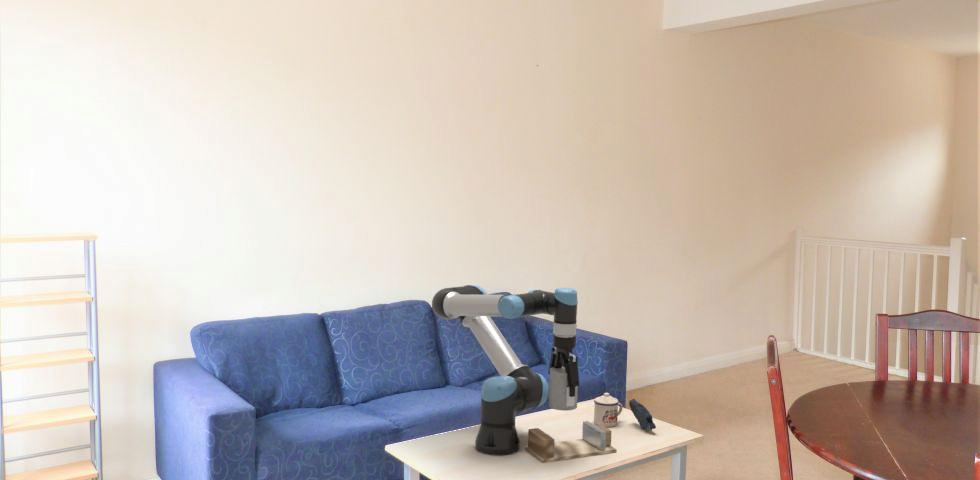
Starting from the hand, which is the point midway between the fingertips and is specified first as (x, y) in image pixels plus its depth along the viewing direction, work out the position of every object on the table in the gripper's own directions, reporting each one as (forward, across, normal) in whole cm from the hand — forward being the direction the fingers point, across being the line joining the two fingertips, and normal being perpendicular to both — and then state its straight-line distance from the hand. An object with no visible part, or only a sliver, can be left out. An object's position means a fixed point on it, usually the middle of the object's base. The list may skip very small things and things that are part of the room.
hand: (562, 401), depth 258 cm
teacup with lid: (+17, +21, -32) cm, 42 cm away
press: (+17, 0, -4) cm, 18 cm away
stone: (+17, +11, -40) cm, 45 cm away
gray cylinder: (+2, 0, 0) cm, 2 cm away
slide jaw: (+16, 0, -15) cm, 22 cm away
